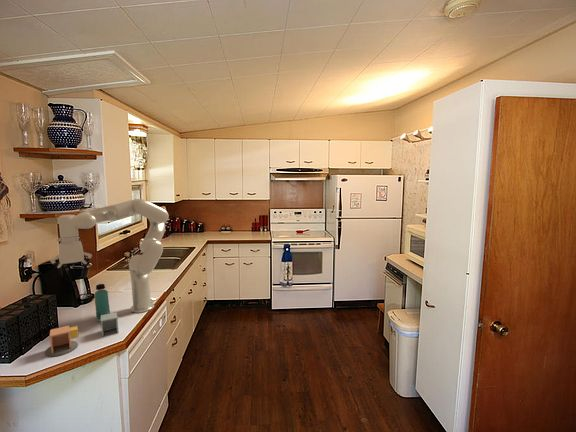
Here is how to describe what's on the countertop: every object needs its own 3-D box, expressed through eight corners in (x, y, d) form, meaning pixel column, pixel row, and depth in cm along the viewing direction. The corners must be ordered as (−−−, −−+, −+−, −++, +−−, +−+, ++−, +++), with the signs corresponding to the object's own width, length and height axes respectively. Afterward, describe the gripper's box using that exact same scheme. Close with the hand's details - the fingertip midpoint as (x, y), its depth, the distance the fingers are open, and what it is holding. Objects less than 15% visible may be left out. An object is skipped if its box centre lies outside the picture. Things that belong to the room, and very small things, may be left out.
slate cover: (102, 330, 158) (100, 315, 157) (118, 327, 162) (116, 312, 161) (102, 336, 152) (100, 320, 151) (118, 332, 156) (117, 317, 155)
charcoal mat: (68, 340, 150) (68, 338, 149) (83, 346, 144) (83, 344, 144) (39, 352, 139) (39, 350, 139) (54, 359, 133) (53, 357, 133)
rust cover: (52, 346, 142) (50, 329, 141) (71, 341, 146) (69, 325, 145) (51, 353, 136) (49, 336, 136) (71, 348, 140) (69, 331, 140)
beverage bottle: (113, 317, 173) (110, 282, 170) (106, 323, 166) (103, 286, 164) (100, 318, 173) (97, 282, 170) (93, 323, 166) (90, 286, 163)
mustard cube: (68, 335, 154) (67, 328, 153) (78, 333, 156) (77, 325, 155) (67, 339, 150) (67, 331, 150) (78, 336, 152) (77, 329, 152)
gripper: (47, 243, 149) (51, 278, 151) (90, 238, 159) (93, 271, 161) (48, 240, 155) (52, 274, 158) (89, 236, 165) (92, 268, 167)
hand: (73, 273), depth 159 cm, fingers open, 9 cm apart
